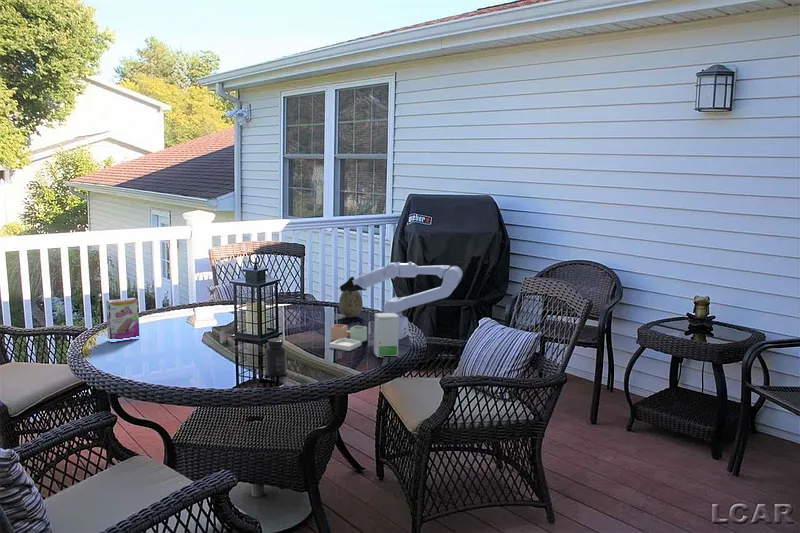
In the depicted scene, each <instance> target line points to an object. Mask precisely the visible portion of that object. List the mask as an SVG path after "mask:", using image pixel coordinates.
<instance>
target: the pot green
mask: <svg viewBox="0 0 800 533" xmlns="http://www.w3.org/2000/svg"><path fill="white" fill-rule="evenodd" d="M349 330H350V336H349V339H353V340H359V341H361V344H362V343H364V342H365V341H368V326H362V325H354V326H352V327H350V328H349Z"/></svg>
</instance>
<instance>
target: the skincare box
mask: <svg viewBox="0 0 800 533" xmlns="http://www.w3.org/2000/svg"><path fill="white" fill-rule="evenodd" d="M373 333H374V338H373V354H374V355H375V356H376V358H378V357H380V358H383V357H382V356H393V355H398V356H399V340H400V339H399V316H398V315H397V314H395V313H385V312H377V313H374V332H373Z"/></svg>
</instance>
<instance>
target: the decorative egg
mask: <svg viewBox="0 0 800 533" xmlns="http://www.w3.org/2000/svg"><path fill="white" fill-rule="evenodd" d="M363 305H364V304H363V299H362V295H361V293H360V290H357V291H352V292H349V291H348V290H347V291H341V294H340V296H339V301H338V307H339V310H340V312H341V314H342V315H343V316H344V317H346V318H351V319H352V318H355V317H357V316H358V315H359V314H360V313H361V312H362V309H363Z"/></svg>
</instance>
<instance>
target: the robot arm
mask: <svg viewBox="0 0 800 533" xmlns="http://www.w3.org/2000/svg"><path fill="white" fill-rule="evenodd" d="M417 275H430V276H431V275H434V276H437V277H439V278H440V279H442V282H441V286H438V287H435V288H431V289H428V290H424V291H422V292H418V293H414V294H411V295H408V296H403V297H401V296H400V297H398V296H393V297H392V298H390V300H388V301H387V302H385V303H384V305H383V308H382V309H383V310H382V311H383V313H395V314H397V315H398V316H399V339H398V340H402V339H404V338H406V337H408V336H409V335H408V334H409V318H408V317H407V316H404V315H403V313H402V312H404V311H405V310H407V309H411V308H413V307H414V308H415V307H417V306H421V305H425V304H428V303H432V302H434V301H438V300H442V299H445V298H448V297H449V296H451V294H452V293H453V291H454V290H455V289H456V288H457V287H458V285H459V284H460V283H461V281H462V277H463V271H462V268H461V267H459V265H458V266H457V265H450V264H449V265H446V264H445V265H444V264H441V265H439V264H438V265H421V266H420V265H417V264H416V263H414V262H413V261H408V262H407V263H406V262H405V263H404V262H400V261H398V262H390V263H389V264H387V265H386V266H382V267H379V268H376V269H374V270H370V271H369V272H366V273H363V274H362V272H358V277H356V278H355V277H354V276H351V277H350V278H349V279H348V280H347V281H345V283H343V284H342V285H340V286H339V289H340V292H343V291H347V290H348V291H349V292H352V291H357V290H358V291H367V289H368V288H370V287H373V286H375V285H377V284H380V283H383V282H385V281H386V280H389V279H392V280H393V279H395V278H396V277H398V278H416V277H417ZM407 335H408V336H407Z"/></svg>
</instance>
